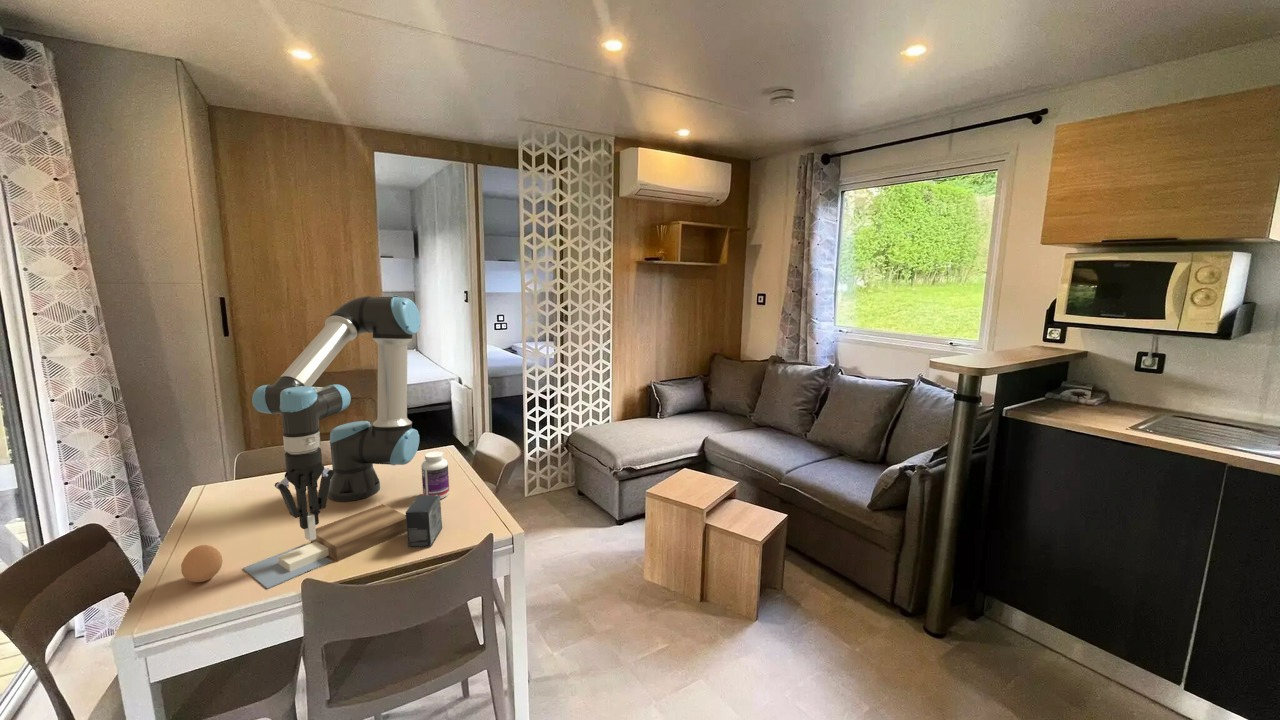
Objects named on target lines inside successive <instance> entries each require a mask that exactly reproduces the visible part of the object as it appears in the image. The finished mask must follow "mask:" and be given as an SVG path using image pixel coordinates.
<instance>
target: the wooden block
mask: <svg viewBox="0 0 1280 720" xmlns="http://www.w3.org/2000/svg"><path fill="white" fill-rule="evenodd" d="M405 533H407V524H406V514H404V513H402V512H400V511H398V510H396V509H393V508H392V507H390V506H388V505H386V504H384V503H381V504H379V505H376V506H374V507H370V508H368V509H365V510H363V511H360V512H356V513H354V514H351V515H349V516H347V517H343V518H341V519H338V520H334V521H333V522H331V523H327V524H325V525H321V526H319V527H316V539H315V540H312V541H310V544H311V543H313V542H316V541H317V542H318V543H320V544H322V545H324V546H325V547H327V548H328V551H329V556H328V557H329V558H331V559H333V560H334V561H336V562H341V561H342V560H345V559H348V558H349V557H351V556H354V555H356V554H358V553H361V552H363V551H365V550H369V549H370V548H372V547H375V546H377V545H380V544H381V543H384V542H386V541H389V540H391V539H394V538H396V537H398V536H401V535H403V534H405Z"/></svg>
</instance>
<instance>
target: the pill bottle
mask: <svg viewBox="0 0 1280 720" xmlns="http://www.w3.org/2000/svg"><path fill="white" fill-rule="evenodd" d="M420 467H421V481H422V495H440V500H442V499H444V498H446V497H447V496H448V495H449V494H450V479H449V464H448V460H447V459H445V458H444V452H443V451H430V452H427V453H425V455H424V461H423V462H422V463H421V466H420Z"/></svg>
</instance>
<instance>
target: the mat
mask: <svg viewBox="0 0 1280 720" xmlns="http://www.w3.org/2000/svg"><path fill="white" fill-rule="evenodd" d="M306 545H307V544H306V543H304V544H301V545H299V546H296V547H294V548H291V549H288V550H286V551H283V552H280V553H278V554H275V555H272V556H270V557H268V558H264V559H262V560H260V561H257V562H254V563H252V564H250V565H246V566H245V567H242V570H244V572H246V573H247V574H248V575H250V576H251V577H252V578H253V577H254V580H255V581H256V582H258V583H259V582H260V583H259V584H261V585H262V586H263V587H264V588H265V587H266V588H265V589H267V590H269V589H272V588H274V587H276V586H279V585H282V584H283V582H284V583H286V582H288V581H291V580H292V578H293V579H295V578H298V577H299V575H300V576H302V575H304V574H303V573H305V572H307V571H309V572H311V571H310V570H312V571H314V570H316V569H318V567H319V568H321V567H323V566H325V564H326V565H328V564H330V563H332V560H331V559H329V558H327V556H326V557H324V558H322V559H319V560H317V561H315V562H312V563H310V564H308V565H305V566H303V567H301V568H298V569H296V570H294V571H291V572H290V571H288V570H287V569H285V568H284V567H282V566H281V565H279V563H278V556H281V555H283V554H286V553H288V552H291V551H293V550H296V549H298V548H301V547H303V546H306ZM315 568H316V569H315ZM313 569H314V570H313ZM307 573H308V572H307ZM301 574H302V575H301ZM305 574H306V573H305ZM297 576H298V577H297ZM294 577H295V578H294ZM290 579H291V580H290ZM285 581H286V582H285ZM278 584H279V585H278Z"/></svg>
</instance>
